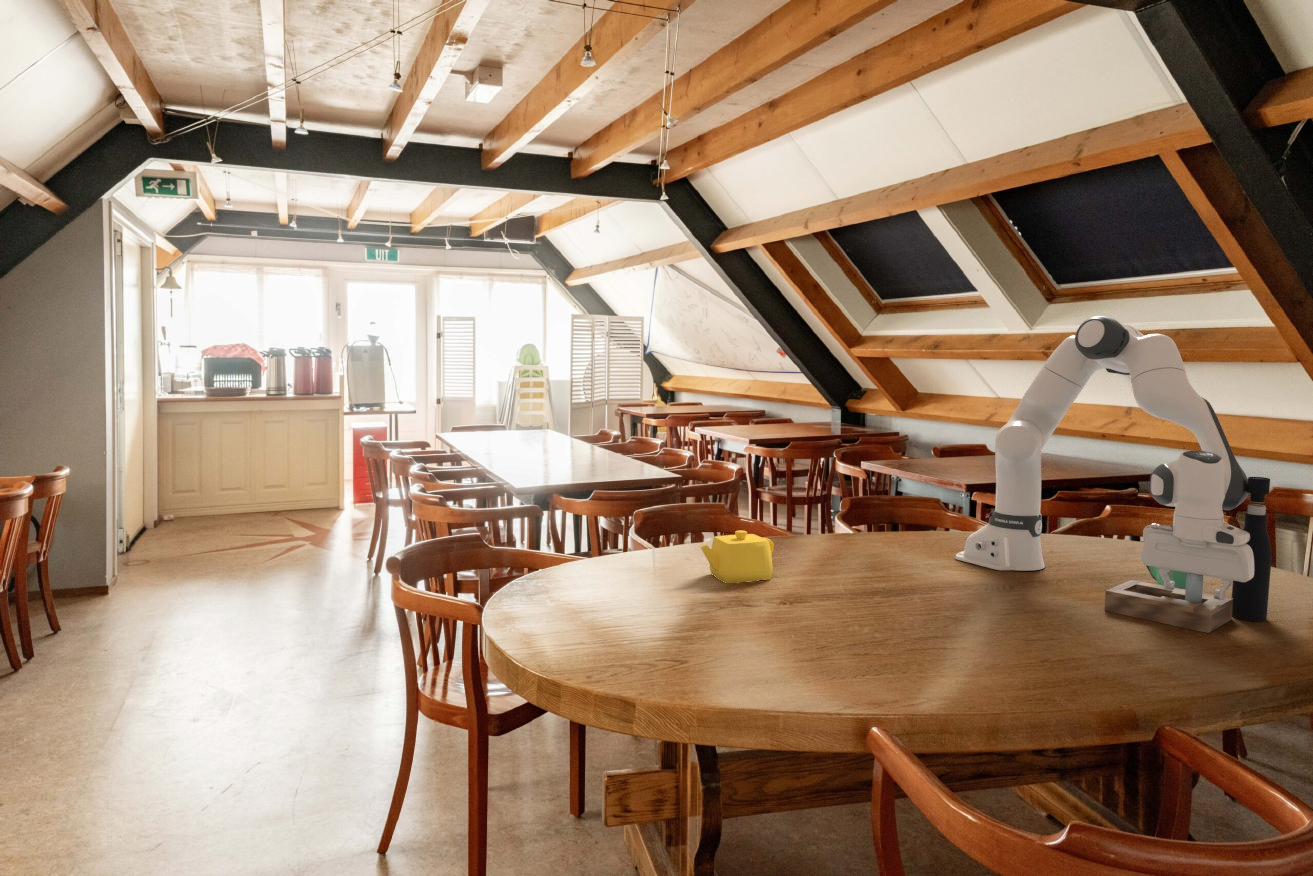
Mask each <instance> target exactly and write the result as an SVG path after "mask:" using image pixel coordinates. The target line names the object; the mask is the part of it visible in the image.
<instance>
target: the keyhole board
mask: <svg viewBox="0 0 1313 876" xmlns="http://www.w3.org/2000/svg"><path fill="white" fill-rule="evenodd" d="M1185 591H1186V590H1184V589H1178V588H1174V590H1166V589H1164V586H1162V585H1160V584H1157V583H1150V582H1145V581H1140V580H1134V579H1131V580H1128V581H1126V582H1124V583H1123V582H1122V583H1120V584H1118V585H1116V586H1114V587H1111V588H1108V589H1106V590H1105V596H1104V611H1105V612H1110V613H1113V614H1118V615H1123V616H1124V615H1125V616H1128V617H1131V618H1132V617H1134V618H1136V619H1140V620H1141V619H1142V620H1147V621H1150V622H1156V623H1161V624H1165V625H1170V626H1174V627H1179V628H1183V629H1188V630H1192V631H1197V632H1203V633H1207V634H1210V633H1211V632H1213V631H1215V630H1216V629H1218V628H1220V627H1222V626H1223V625H1225V624H1226V623H1228V622H1230V621H1231V620H1232V619H1233V616H1232V608H1233V599H1232V597H1226V596H1225V599H1224V600H1219V599H1214V595H1215V594H1209V593H1204V592H1202V604H1201V603H1196V602H1191V601H1186V600H1185Z"/></svg>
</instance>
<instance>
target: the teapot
mask: <svg viewBox="0 0 1313 876" xmlns="http://www.w3.org/2000/svg"><path fill="white" fill-rule="evenodd" d="M734 533H735V534H726V535H716V536H713V539H712V540H713V541H712V544H711V547H709V545H708V544H703V545H701V546H699V547H700V550H701V552H702V553H703V554H704V557H705V558H706V560H707V561H708V564H709V570H710V574H711V573H712V574H713V575H715V576H716V577H717V578H719V579H720V580H722V581H724V582H726V583H736V584H738V583H737V582H747V581H757V580H764V579H770V578H772V576H773V568H774V567H773V552H774V549H775V544H774V542H773V541H772V540H771V539H769V538H767V537H761V536H759V535H757V534H754V533H748V531H746V530H736V531H734ZM712 574H711V575H712ZM717 578H716V579H717ZM720 580H719V581H720ZM770 580H771V579H770ZM722 581H721V582H722ZM724 582H723V583H724ZM726 583H725V584H726Z"/></svg>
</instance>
